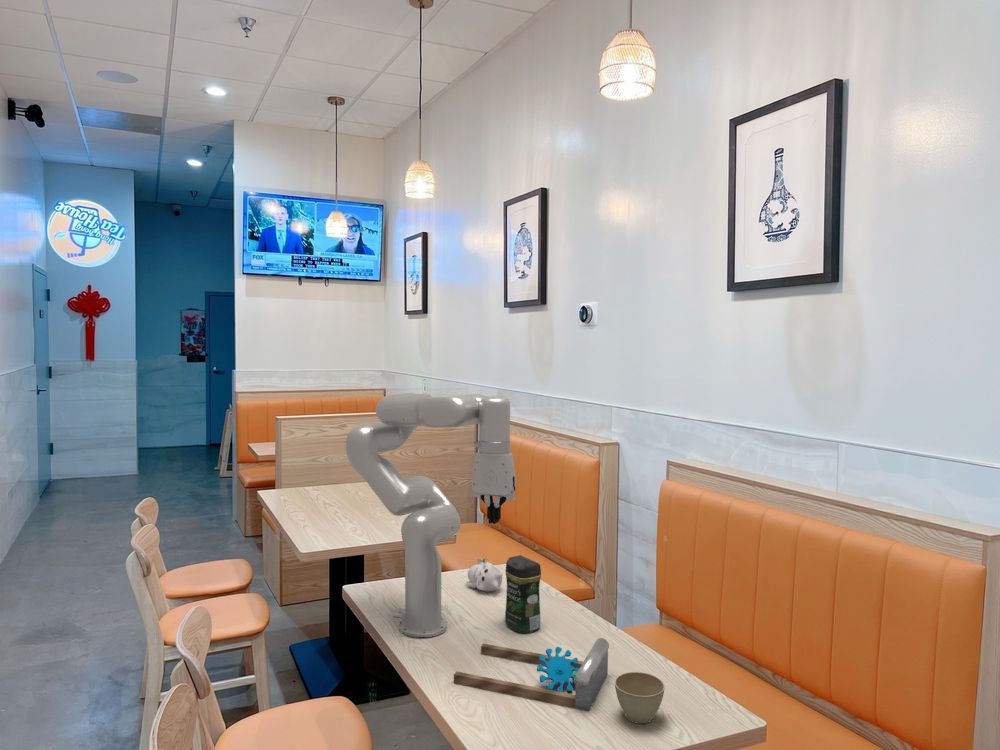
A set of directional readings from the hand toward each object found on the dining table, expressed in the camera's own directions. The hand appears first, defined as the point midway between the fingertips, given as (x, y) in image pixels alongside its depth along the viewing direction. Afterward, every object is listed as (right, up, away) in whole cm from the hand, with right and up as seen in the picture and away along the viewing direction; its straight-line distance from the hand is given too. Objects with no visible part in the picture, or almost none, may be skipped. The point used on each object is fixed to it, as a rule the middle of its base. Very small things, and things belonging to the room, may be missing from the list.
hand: (493, 522), depth 172 cm
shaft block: (+22, -33, -18) cm, 43 cm away
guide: (+7, -33, -12) cm, 36 cm away
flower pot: (+30, -34, -28) cm, 53 cm away
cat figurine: (-3, -30, +44) cm, 53 cm away
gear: (+15, -33, -16) cm, 40 cm away
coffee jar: (+8, -32, +16) cm, 36 cm away
